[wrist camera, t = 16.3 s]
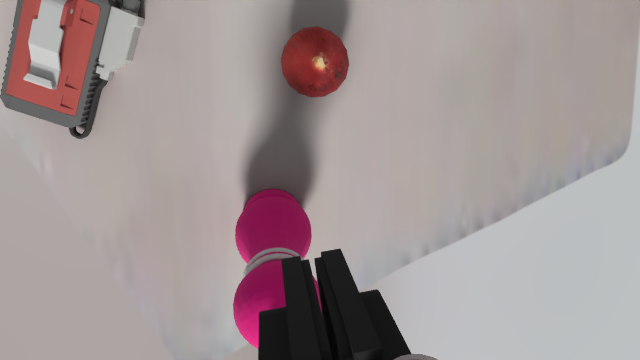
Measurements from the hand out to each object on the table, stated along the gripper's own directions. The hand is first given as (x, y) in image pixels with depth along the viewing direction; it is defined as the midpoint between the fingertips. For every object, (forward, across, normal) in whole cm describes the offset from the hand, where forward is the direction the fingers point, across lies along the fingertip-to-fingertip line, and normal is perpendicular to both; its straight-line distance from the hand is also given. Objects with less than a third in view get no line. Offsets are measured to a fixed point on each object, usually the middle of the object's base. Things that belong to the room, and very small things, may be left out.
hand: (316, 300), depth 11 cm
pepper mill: (+29, +2, +9) cm, 31 cm away
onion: (+29, -4, -6) cm, 30 cm away
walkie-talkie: (+30, +15, -12) cm, 35 cm away
